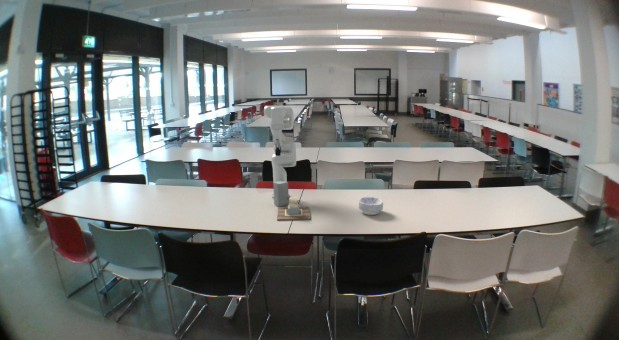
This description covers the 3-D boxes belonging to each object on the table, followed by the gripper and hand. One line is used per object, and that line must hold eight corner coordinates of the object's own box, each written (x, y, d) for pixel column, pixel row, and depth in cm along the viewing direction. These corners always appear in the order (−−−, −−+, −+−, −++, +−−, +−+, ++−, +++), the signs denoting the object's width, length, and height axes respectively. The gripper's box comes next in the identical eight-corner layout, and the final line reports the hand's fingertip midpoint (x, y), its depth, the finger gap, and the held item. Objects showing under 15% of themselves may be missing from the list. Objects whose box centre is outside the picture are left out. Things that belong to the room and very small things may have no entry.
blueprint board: (278, 208, 229) (277, 201, 228) (308, 207, 230) (308, 200, 229) (277, 220, 210) (276, 212, 208) (310, 219, 211) (310, 211, 209)
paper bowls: (364, 218, 212) (364, 205, 210) (354, 209, 227) (355, 198, 225) (387, 215, 216) (387, 203, 214) (376, 207, 231) (376, 195, 229)
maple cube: (289, 205, 221) (289, 197, 220) (297, 204, 221) (297, 197, 220) (289, 207, 216) (289, 200, 215) (297, 207, 216) (297, 200, 215)
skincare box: (278, 207, 232) (278, 184, 228) (273, 204, 237) (272, 181, 233) (289, 204, 236) (289, 182, 232) (283, 201, 242) (283, 179, 238)
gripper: (271, 125, 225) (272, 151, 229) (270, 129, 208) (271, 157, 212) (283, 125, 225) (284, 151, 229) (283, 128, 209) (283, 156, 213)
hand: (278, 154), depth 221 cm, fingers open, 9 cm apart
